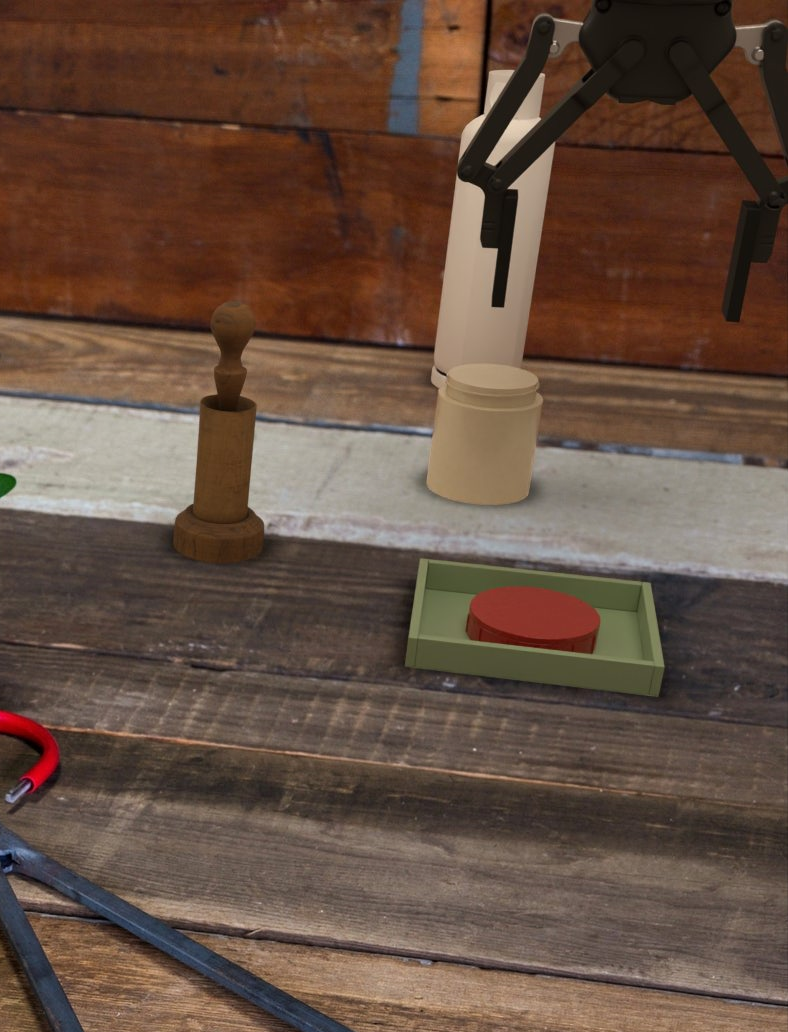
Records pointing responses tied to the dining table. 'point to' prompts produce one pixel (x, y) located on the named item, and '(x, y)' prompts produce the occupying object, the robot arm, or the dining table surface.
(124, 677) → the dining table surface
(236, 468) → the mortar and pestle
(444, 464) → the jam jar
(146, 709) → the dining table surface
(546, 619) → the jam lid
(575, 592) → the tray
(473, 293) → the bottle
